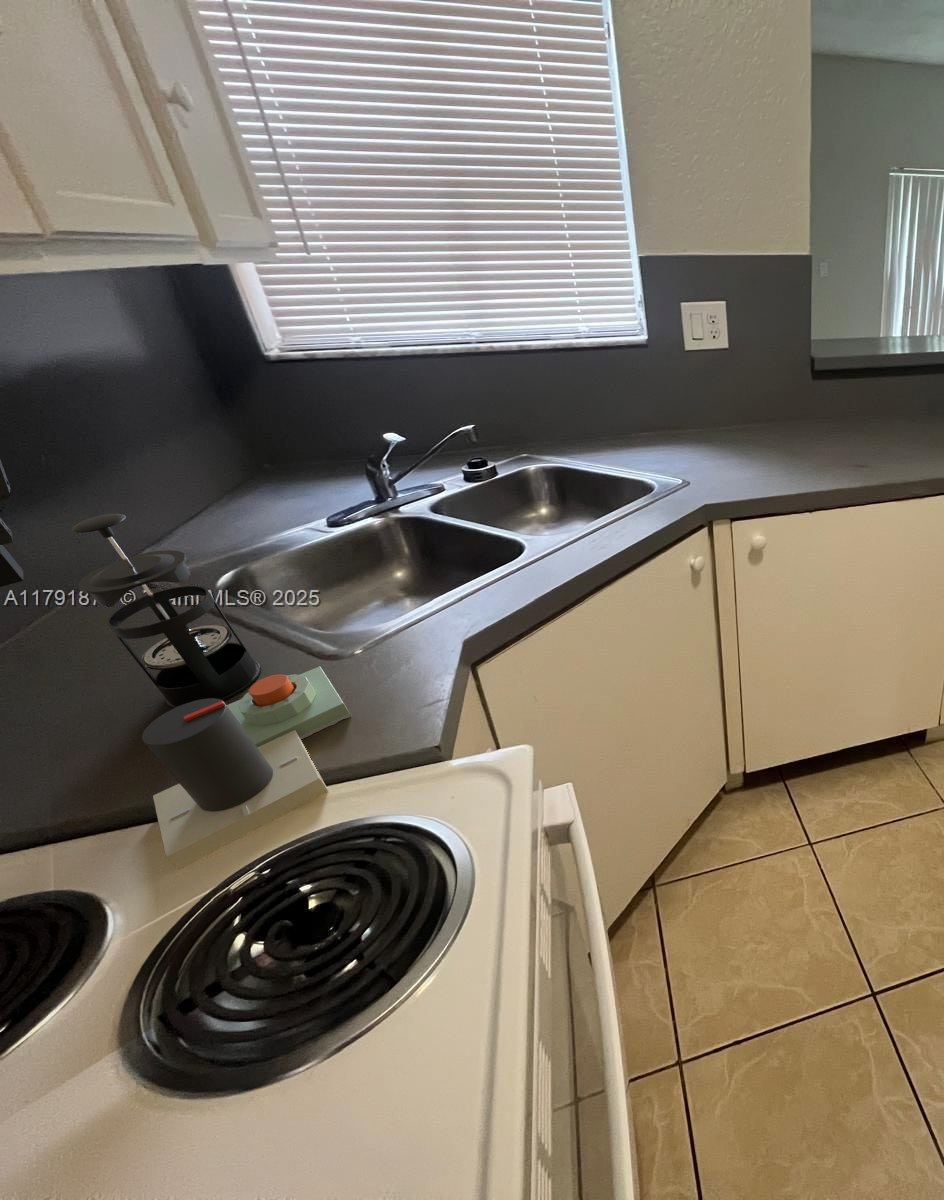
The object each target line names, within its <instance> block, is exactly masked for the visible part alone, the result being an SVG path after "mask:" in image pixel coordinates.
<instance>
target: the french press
mask: <svg viewBox="0 0 944 1200" xmlns="http://www.w3.org/2000/svg"><path fill="white" fill-rule="evenodd" d="M126 518H127V516H126V515H125V514H122V513H107V514H102V515H97V516H93V517H90V518H87V519H85V520H82V521H80V522H78V523H76V524H75V525H73V527H72V528H71V531H72V532H73V533H77V534H81V533H83V534H85V533H90V532H91V533H92V532H95V531H96V532H97V533H98V534H100V536H101V537H102V538H103V539H108V541H109V542H110V544H111V545H112V547H113V548H114V549H115V551H116V552H117V554H118V555H119V556H120V557H121V559H118V560H115V561H113V562H110V563H107V564H105V565H103V566H101V567H98V568H97V569H95V570H93V571H91V572H89V573H88V574H86V575H85V576H83V577H82V578H81V579H80V580H79V581H78V583H77V588H78V589H79V590H80V592H81V593H83V594H89V595H90V596H91V597H92V598H93V600H94V601H95V603H97V604H98V605H100V606H104V607H110V606H114V605H116V604H117V603H118V602H119V601H120V600H121V599H122V598H123V597H124V596H125V594H127V593H128V592H130V591H131V590H133V589H135V588H137V587H142V588H143V589H144V592H142V593H141V597H139V598H136V599H134V600H132V601H130V602H127V603H126V604H124V605H122V606H121V607H119V608H118V609H116V610H115V611H114V612H113V613H111V614H110V615H109V616H108V618H107V620H106V624H107V626H108V627H109V628H110V630H111V631H112V632H113V634H114V635H115V636H116V638H117V639H118V640H119V642H120V643H121V644H122V645H123V647H124V648H125V649H126V650H127V651H128V653H129V654H130V656H132V658H133V659H134V661H136V663H137V664H138V665H139V667H140V668H141V669H142V671H144V673H145V674H146V675H147V677H148V678H149V679H150V681H151V682H152V683H153V684H154V685H155V687H156V688H157V689H158V690H159V692H160V693H161V694H162V696H163V697H164V698H165V702H166V704H167V706H168V707H169V708H170V709H171V710H172V709H174V708H176V707H178V706H181V705H183V704H186V703H189V702H193V701H196V700H201V699H210V698H211V699H219V700H222V701H224V702H226V701H228V700H230V699H233V698H234V697H236V696H238V695H240V694H242V693H243V692H245V691H246V690H247V689H250V688H251V686H252V685H253V684H255V683H256V682H257V681H258V679H259V677H260V676H261V673H262V667H261V665H260V663H259V662H258V661H257V660H254V658H253V657H252V655H251V654H250V652H249V651H248V649H247V647H246V646H245V644H244V643H243V642H242V640H241V639H240V637H239V635H238V634H237V632H236V631H235V629H234V628H233V626H232V624H231V623H230V622H229V620H228V618H227V617H226V615H225V614H224V613H223V611H222V609H221V608H220V607H219V605H218V603H217V601H216V600H215V598H214V597H213V595H212V594H211V592H210V591H209V590H208V588H206V587H204V586H201V585H181V586H175V587H170V588H166V589H162V588H161V587H156V588H154V589H153V588H152V589H150V588H149V586H148V585H147V584H151V583H161V582H162V583H179V584H180V583H183V582H185V581H187V580H188V579H189V578H190V576H191V571H190V570H189V568H188V567H187V565H186V560H187V556H186V554H185V553H184V552H182V551H180V550H172V549H169V550H168V549H167V550H166V549H165V550H155V551H150V552H143V553H140V554H135V555H132V556H128V557H127V556H126V554H125V553H124V551H123V550H122V548H121V547H120V546H119V544H118V543H117V542H116V540H115V539H114V538H113V537H114V536H115V533H114V531H113V529H112V528H111V527H113V526H116V525H118V524H120V523H122V522H123V521H125V520H126ZM191 596H201V597H203V599H202V600H201V601H200V602H198V603H197V604H196V605H194V606H193V607H191V608H189V609H188V610H186V611H184V612H182V613H180V612H179V610H177V609H176V607H175V605H174V604H173V603H172V601H171V600H173V599H178V598H183V597H191ZM149 607H150V609H151V611H153V613H154V614H155V616H156V617H157V618H158V620H159V621H158V622H155V623H151V624H147V625H141V626H137V627H120V625H121V624H122V623H123V622H124V621H126V620H127V619H128V618H130V617H132V616H133V615H135V614H137V613H138V612H141V611H142V610H145V609H147V608H149ZM213 607H214V608H216V610H217V612H218V613H219V615H220V616H221V617H222V619H223V621H224V622H225V624H226V625H224V624H220V623H215V624H214V623H213V624H203V625H199V626H194V627H190V626H189V624H190V623H192V622H194V621H197V620H198V619H199V618H201V617H203V616H204V615H206V614H207V613H208V612H209V611H210V610H211V609H212V608H213ZM161 634H164V636H165V637H164V638H163V639H161V640H159V641H158V642H156V643H154V644H153V645H151V646H150V647H149V648H147V650H145V651H144V653H143V654H141V655H142V656H141V658H139V656H138V655H137V654H136V653H135V651H134V650H133V648H132V647H131V646H130V645H129V643H128V642H127V641H126V640H125V639H128V640H137V639H143V638H150V637H155V636H158V635H161ZM232 635H233V636H234V638H235V639H236V641H237V642H230V641H231V639H232ZM228 667H229V668H228ZM223 668H228V669H227V670H225V671H223V672H222V673H218V672H217V671H216V670H220V669H223ZM150 670H155V671H158V672H157V673H156V674H155V676H154V675H153V674H152V673H151V672H150ZM196 679H197V680H198V682H197V683H194V684H191V682H193V681H194V680H196ZM188 684H191V685H188Z"/></svg>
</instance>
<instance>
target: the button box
mask: <svg viewBox="0 0 944 1200" xmlns="http://www.w3.org/2000/svg"><path fill="white" fill-rule="evenodd" d="M286 676H287V677H288V679H289V680H290V682H291V683H292V685H293V687H294V689H295V690H294V693H293V694H291V695H290V696H288V697H287V698H286V699H284V700H282V701H280V702H278V703H275V704H273V705H268V706H263V707H261V706H258V705H257V704H256V702H255V701H254V699H253V698H252V696H251V695H250V693H249V691H247V692H246V693H245V694H244V695H243V697H242V698H240V699H238V700H236V701H234V702H231V703H228V704H226V705H227V706H228V708H229V709H230V711H231V712H232V713H233V715H234V716H235V717H236V719H237V720H238V722H239V723H240V724H241V726H242V727H243V729H244V730H245V731H246V733H247V734H248V735H249V737H250V738H251V740H252V741H253V742H254V744H255V745H256V747H259V746H261V745H264V744H266V743H268V742H270V741H272V740H274V739H277V738H279V737H281V736H283V735H285V734H287V733H290V732H292V731H294V730H295V731H296V732H297V734H298V735H299V737H301V736H303V735H305V734H306V733H309V732H310V731H313V730H314V729H317V728H319V727H321V726H323V725H325V724H328V723H330V722H332V721H334V720H337V719H338V718H341V717H343V716H346V715H348V714H351V712H350V711H349V710H348V708H347V706H346V704H345V703H344V701H343V699H342V698H341V696H340V695H339V693H338V691H337V690H336V688H335V686H334V685H333V684H332V682H331V681H330V679H329V678H328V676H327V674H326V673H325V671H324V670H323V669H322V667H321V666H320V665H319V666H317V667H315V668H312V669H310V670H307V671H304V672H303V673H300V674H287V675H286Z"/></svg>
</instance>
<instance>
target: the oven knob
mask: <svg viewBox="0 0 944 1200" xmlns="http://www.w3.org/2000/svg"><path fill="white" fill-rule="evenodd" d="M227 705H228V704H226V701H222V700H219V699H211V698H210V699H201V700H196V701H193V702H189V703H186V704H183V705H181V706H178V707H176V708H174V709H172V708H171V709H169V710H168V711H166V712H164V713H163V714H161V715H159V716H158V717H157V718H155V719H154V720H153V721H151V722H150V723H149V724H148V725H147V727H146V728H145V729H144V731H143V732H142V735H141V740H142V742H143V743H144V744H145V746H147V748H148V749H149V750H150V751H151V752H152V754H154V756H155V757H156V758H157V759H158V760H159V761H160V763H161V764H162V765H163V766H164V767H165V769H166V770H167V771H168V772H169V773H170V774H171V775H172V777H173V778H174V779H175V781H176V782H178V784H180V785H181V786H182V787H183V788H184V789H185V791H186V792H187V793H188V794H189V795H190V796H191V798H192V799H193V800H194V801H195V802H196V803H197V804H198V806H199V807H200V808H201V809H203V810H206V811H221V810H226V809H229V808H232V807H235V806H237V805H240V804H242V803H244V802H246V801H247V800H249V799H251V798H252V797H254V796H255V795H257V794H258V793H259V792H260V791H262V790H263V789H264V788H265V787H266V786H267V784H268V783H269V782H270V780H271V778H272V775H273V769H272V767H271V766H270V765H269V763H268V762H267V760H266V759H265V758H264V756H263V755H262V753H261V752H260V751H259V749H258V748H257V747H256V745H255V744H254V742H253V741H252V740H251V738H250V737H249V735H248V734H247V733H246V731H245V730H244V729H243V727H242V726H241V724H240V723H239V722H238V720H237V719H236V717H235V716H234V715H233V713H232V712H231V711H230V709H229V708H228V706H227Z"/></svg>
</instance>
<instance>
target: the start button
mask: <svg viewBox="0 0 944 1200" xmlns="http://www.w3.org/2000/svg"><path fill="white" fill-rule="evenodd" d="M248 689H249V690H248V692H249V693H250V695H251V696H252V698H253V699H254V701H255V702H256V704H257V705H258V706H261V707H263V706H268V705H273V704H275V703H278V702H280V701H282V700H284V699H286V698H287V697H288V696H290V695H291V694H293V693H294V690H295V689H294V687H293V685H292V683H291V682H290V680H289V679H288V677H287V675H286V674H282V673H281V674H280V673H279V674H272V675H269V676H266V677H263V678H261V679H259V680H256V681H255V682H254V683H253V684H252V685H251V686H250V687H249V688H248Z"/></svg>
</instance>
